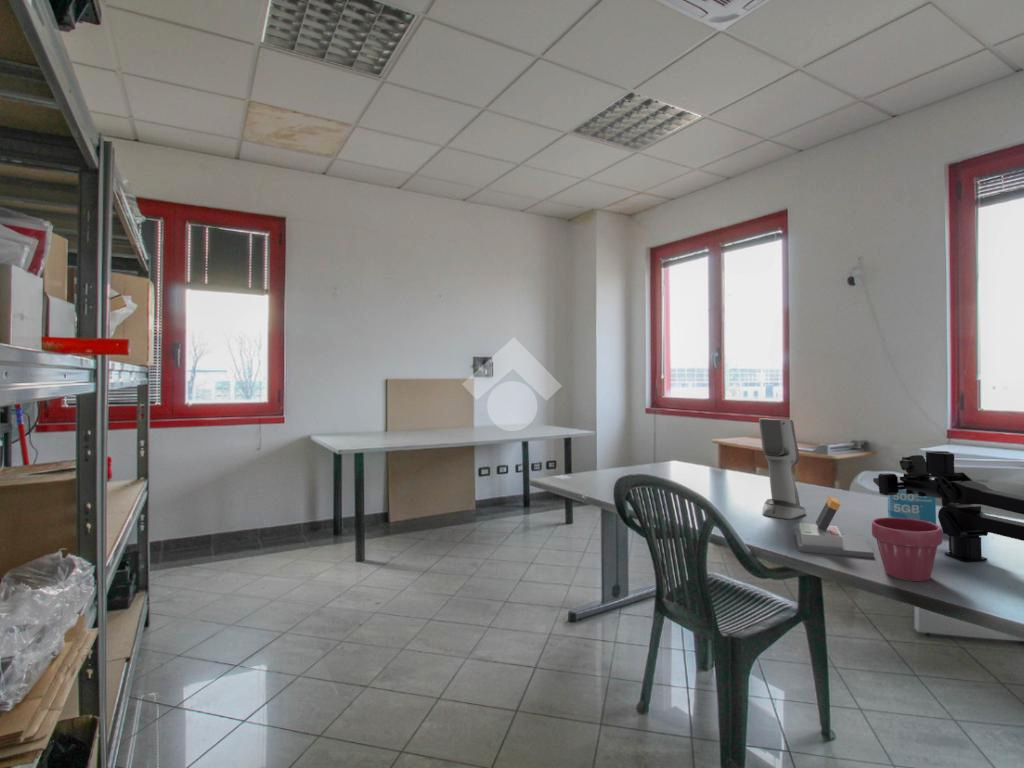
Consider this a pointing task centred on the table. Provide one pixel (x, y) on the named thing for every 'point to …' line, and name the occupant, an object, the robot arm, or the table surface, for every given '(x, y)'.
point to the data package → (912, 506)
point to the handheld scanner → (781, 468)
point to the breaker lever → (827, 513)
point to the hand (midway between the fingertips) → (887, 479)
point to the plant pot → (907, 546)
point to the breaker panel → (847, 549)
